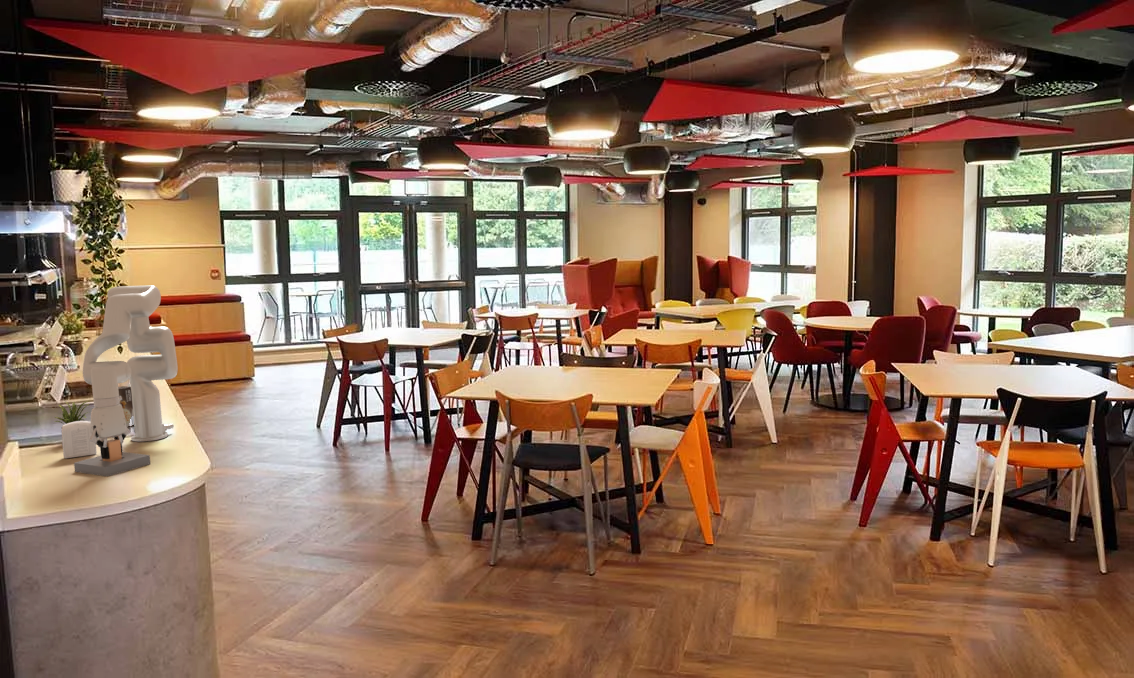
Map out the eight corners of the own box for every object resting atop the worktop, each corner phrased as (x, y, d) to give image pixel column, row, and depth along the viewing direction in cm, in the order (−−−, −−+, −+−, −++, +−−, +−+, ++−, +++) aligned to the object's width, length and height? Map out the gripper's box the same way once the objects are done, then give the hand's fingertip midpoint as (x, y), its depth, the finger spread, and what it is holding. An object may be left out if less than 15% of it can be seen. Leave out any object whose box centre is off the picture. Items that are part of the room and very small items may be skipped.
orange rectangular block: (114, 459, 296) (112, 439, 296) (122, 460, 295) (120, 439, 294) (103, 462, 293) (101, 441, 292) (111, 463, 291) (109, 442, 290)
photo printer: (96, 452, 317) (92, 418, 315) (97, 454, 313) (94, 420, 312) (63, 457, 311) (59, 422, 310) (64, 459, 308) (60, 424, 306)
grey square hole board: (118, 459, 305) (118, 451, 304) (150, 463, 297) (149, 455, 297) (74, 471, 290) (73, 462, 290) (106, 476, 283) (106, 467, 283)
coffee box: (127, 424, 365) (123, 385, 363) (136, 425, 362) (132, 386, 360) (105, 428, 357) (101, 389, 355) (114, 430, 354) (110, 390, 352)
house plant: (105, 437, 342) (101, 395, 340) (87, 445, 328) (83, 402, 326) (68, 438, 341) (63, 396, 339) (48, 447, 328) (43, 403, 326)
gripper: (122, 397, 300) (127, 450, 303) (75, 406, 286) (81, 462, 288) (136, 398, 297) (142, 451, 299) (90, 408, 282) (96, 464, 284)
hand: (112, 456), depth 294 cm, fingers closed on orange rectangular block, 4 cm apart
